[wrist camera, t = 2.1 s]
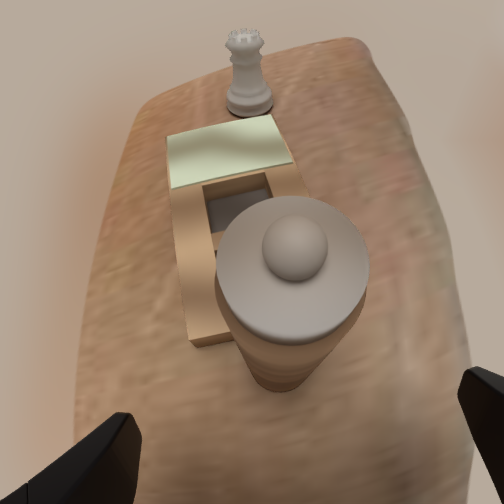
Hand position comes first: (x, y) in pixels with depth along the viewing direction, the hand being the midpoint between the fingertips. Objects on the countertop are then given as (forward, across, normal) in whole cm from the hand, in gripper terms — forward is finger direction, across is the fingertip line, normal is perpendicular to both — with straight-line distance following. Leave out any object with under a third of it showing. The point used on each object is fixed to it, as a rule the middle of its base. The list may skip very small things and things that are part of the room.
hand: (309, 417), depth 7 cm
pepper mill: (+9, 0, +5) cm, 11 cm away
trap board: (+17, +2, -2) cm, 17 cm away
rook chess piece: (+26, 0, -11) cm, 28 cm away
